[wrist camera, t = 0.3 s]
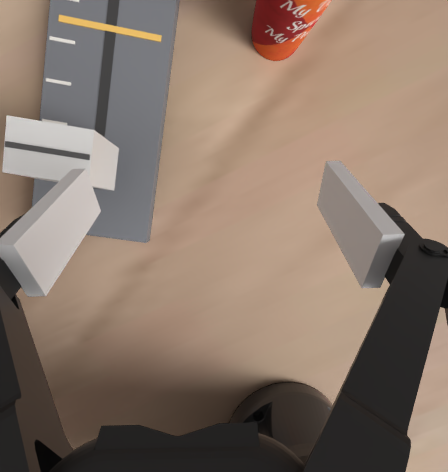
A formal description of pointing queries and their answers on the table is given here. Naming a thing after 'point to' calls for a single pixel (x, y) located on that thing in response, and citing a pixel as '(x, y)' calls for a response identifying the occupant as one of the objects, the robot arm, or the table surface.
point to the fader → (58, 152)
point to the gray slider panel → (113, 96)
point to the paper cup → (283, 25)
